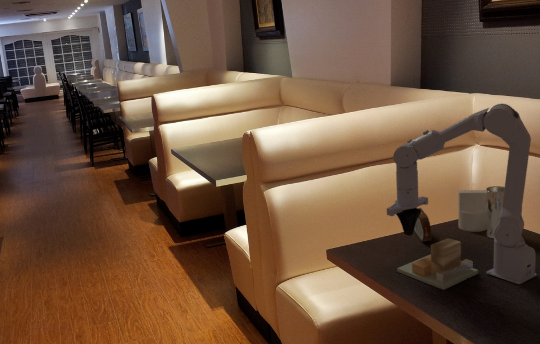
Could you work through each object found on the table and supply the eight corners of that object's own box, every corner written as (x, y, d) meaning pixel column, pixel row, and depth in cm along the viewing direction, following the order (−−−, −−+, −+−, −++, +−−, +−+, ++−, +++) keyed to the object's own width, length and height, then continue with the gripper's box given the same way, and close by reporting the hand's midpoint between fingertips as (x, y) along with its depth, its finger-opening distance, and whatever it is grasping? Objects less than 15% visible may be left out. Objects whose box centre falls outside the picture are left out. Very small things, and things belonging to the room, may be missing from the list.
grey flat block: (478, 273, 146) (478, 261, 145) (443, 289, 138) (443, 276, 137) (431, 257, 158) (431, 245, 157) (397, 271, 151) (396, 259, 150)
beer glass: (480, 234, 173) (480, 188, 169) (498, 230, 174) (499, 184, 171) (495, 241, 166) (495, 193, 163) (514, 237, 168) (515, 189, 164)
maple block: (460, 270, 146) (460, 241, 144) (443, 278, 142) (443, 249, 140) (448, 265, 149) (448, 238, 147) (431, 273, 146) (430, 245, 144)
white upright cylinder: (459, 231, 176) (459, 195, 174) (457, 222, 185) (457, 187, 182) (489, 231, 174) (490, 195, 171) (486, 222, 183) (486, 187, 180)
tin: (432, 245, 167) (432, 218, 165) (422, 245, 167) (421, 219, 165) (420, 228, 182) (420, 204, 180) (410, 229, 182) (410, 204, 180)
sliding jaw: (453, 263, 151) (453, 254, 150) (424, 276, 144) (424, 267, 144) (441, 259, 154) (441, 251, 153) (412, 271, 147) (412, 263, 147)
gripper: (414, 179, 158) (415, 224, 161) (377, 190, 150) (379, 237, 153) (433, 183, 152) (434, 230, 156) (397, 195, 145) (398, 243, 148)
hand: (408, 234), depth 154 cm, fingers closed
